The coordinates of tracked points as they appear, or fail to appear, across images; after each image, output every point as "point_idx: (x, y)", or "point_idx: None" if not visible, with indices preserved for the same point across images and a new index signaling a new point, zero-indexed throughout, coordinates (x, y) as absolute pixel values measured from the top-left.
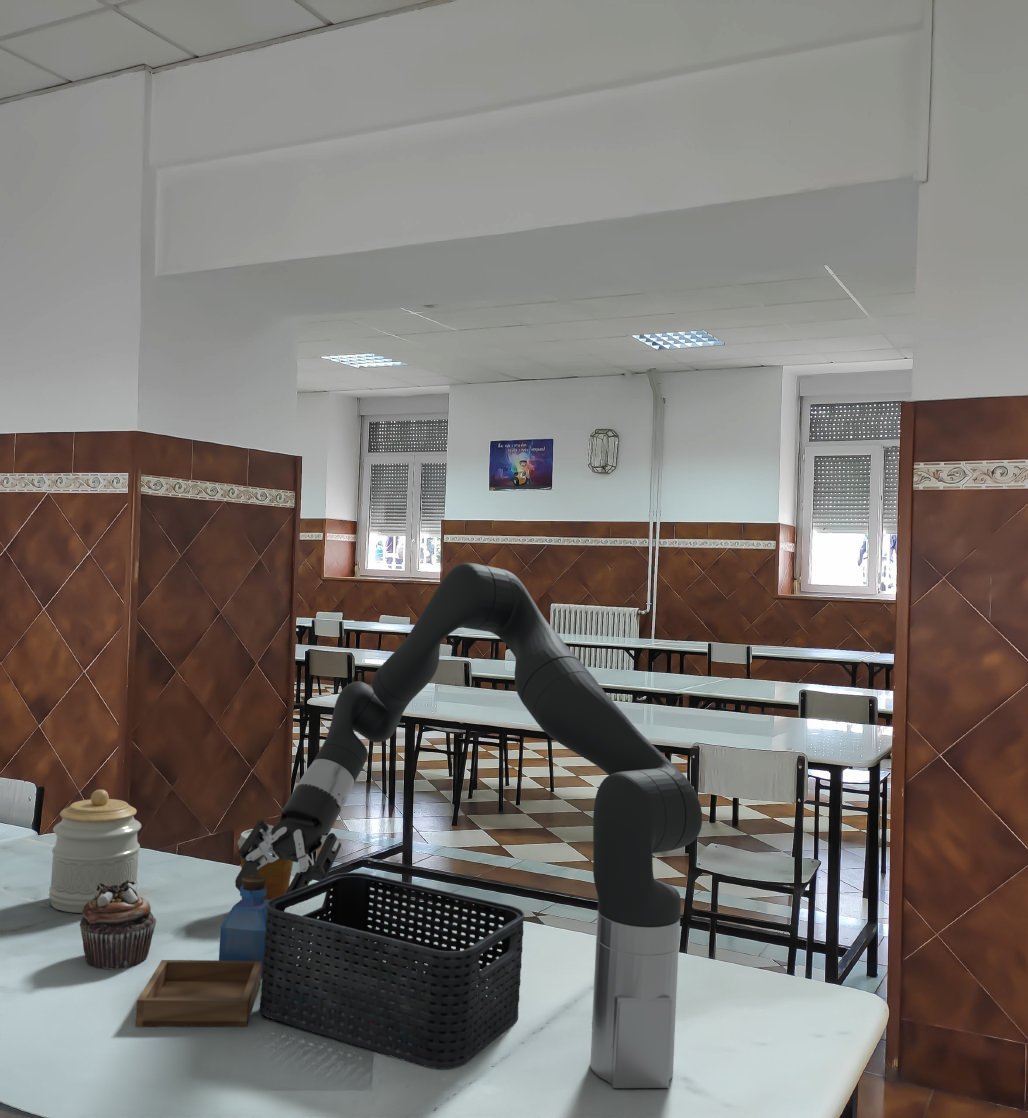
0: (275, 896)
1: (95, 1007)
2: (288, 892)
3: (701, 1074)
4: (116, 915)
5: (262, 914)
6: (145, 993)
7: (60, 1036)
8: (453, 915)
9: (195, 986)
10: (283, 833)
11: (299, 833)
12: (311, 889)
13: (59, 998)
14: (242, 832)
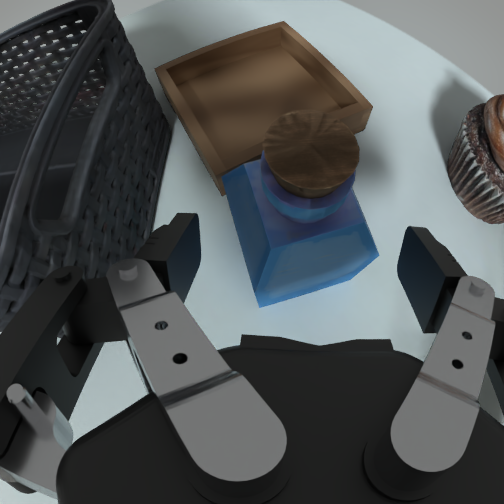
0: None
1: (363, 59)
2: (181, 214)
3: None
4: (492, 99)
5: (238, 167)
6: (290, 32)
7: (329, 18)
8: None
9: None
10: (403, 412)
11: (209, 438)
12: (41, 110)
13: (414, 66)
14: None
